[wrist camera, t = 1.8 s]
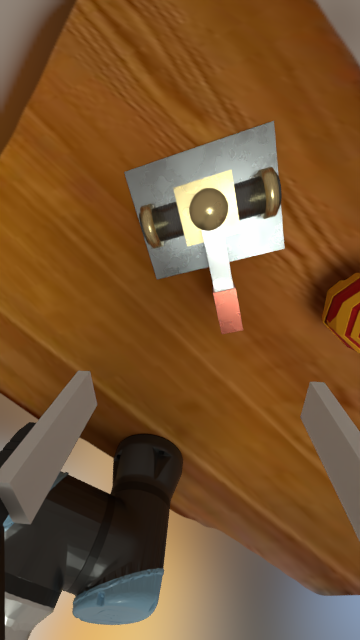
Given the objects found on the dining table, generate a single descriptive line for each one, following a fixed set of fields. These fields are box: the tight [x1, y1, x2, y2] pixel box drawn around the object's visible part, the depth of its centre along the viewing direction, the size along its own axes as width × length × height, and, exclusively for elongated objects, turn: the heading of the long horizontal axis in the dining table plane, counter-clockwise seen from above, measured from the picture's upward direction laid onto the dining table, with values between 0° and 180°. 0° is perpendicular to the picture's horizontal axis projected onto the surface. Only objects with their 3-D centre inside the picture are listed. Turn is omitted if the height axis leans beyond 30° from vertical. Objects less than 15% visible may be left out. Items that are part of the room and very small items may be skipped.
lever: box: [189, 188, 243, 334], centre depth 25 cm, size 15×4×3 cm, turn 15°
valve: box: [124, 121, 284, 279], centre depth 28 cm, size 18×14×7 cm
